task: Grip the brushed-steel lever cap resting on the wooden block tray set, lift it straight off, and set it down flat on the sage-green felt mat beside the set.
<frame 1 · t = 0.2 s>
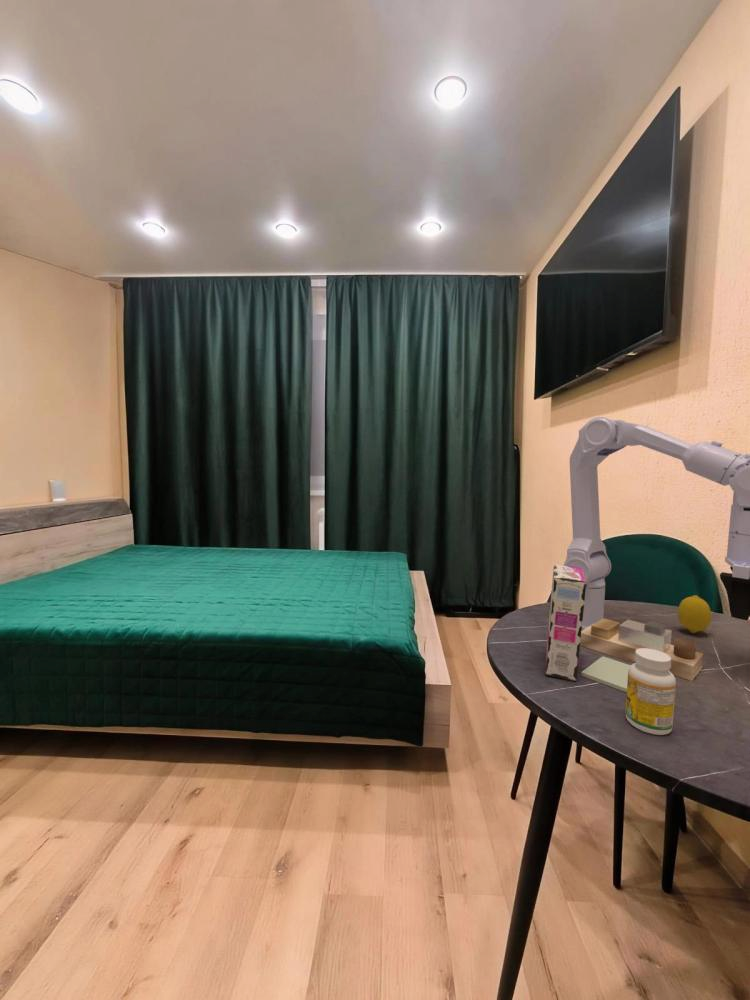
hand: (743, 613, 73), 10 cm above the table, tool pointing down, fingers open, 7 cm apart
wooden block tray set: (636, 655, 78), on the table
lemon: (692, 634, 89), on the table
candy bar box: (561, 665, 74), on the table
felt mat: (620, 677, 70), on the table
supplement bottle: (648, 725, 57), on the table
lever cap: (644, 644, 77), point 2 cm above the table, touching wooden block tray set
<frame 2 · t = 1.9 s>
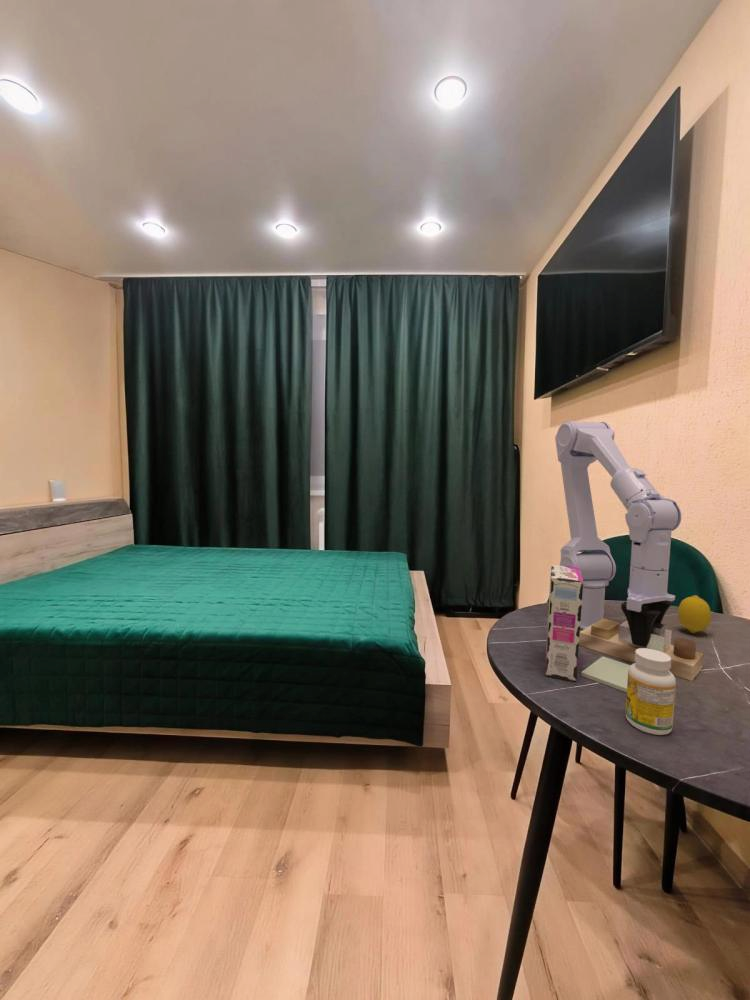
hand: (644, 641, 77), 3 cm above the table, tool pointing down, fingers closed on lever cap, 4 cm apart
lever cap: (644, 644, 77), point 2 cm above the table, touching gripper, wooden block tray set
everything else where it was.
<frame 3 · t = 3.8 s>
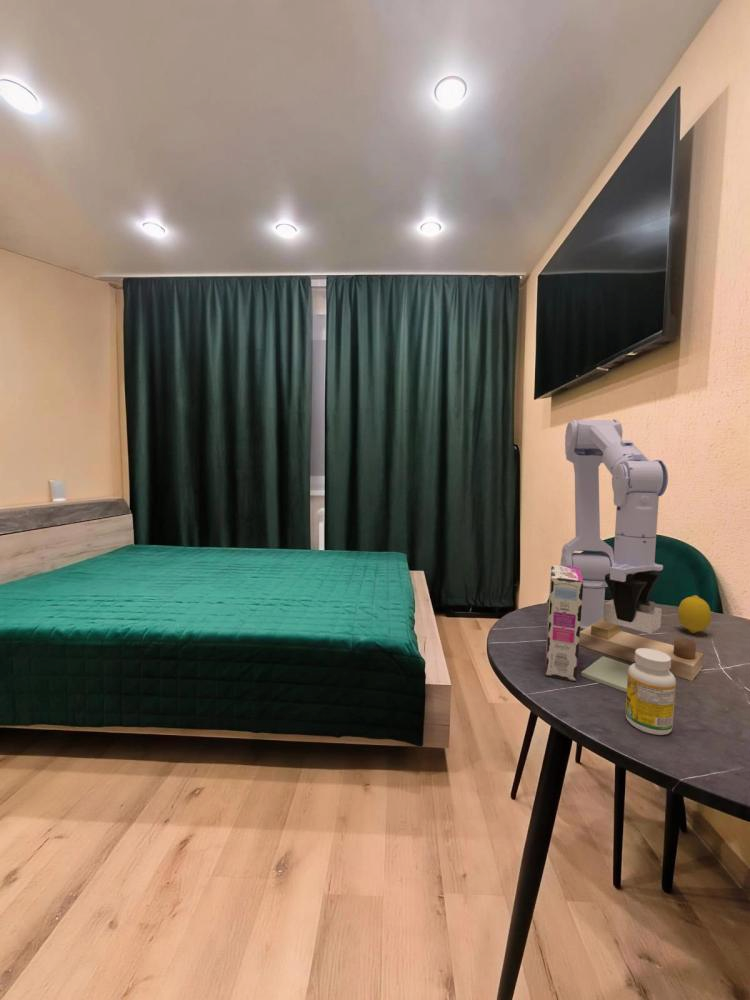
hand: (630, 616, 70), 10 cm above the table, tool pointing down, fingers closed on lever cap, 4 cm apart
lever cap: (631, 623, 70), point 9 cm above the table, touching gripper
everything else where it was.
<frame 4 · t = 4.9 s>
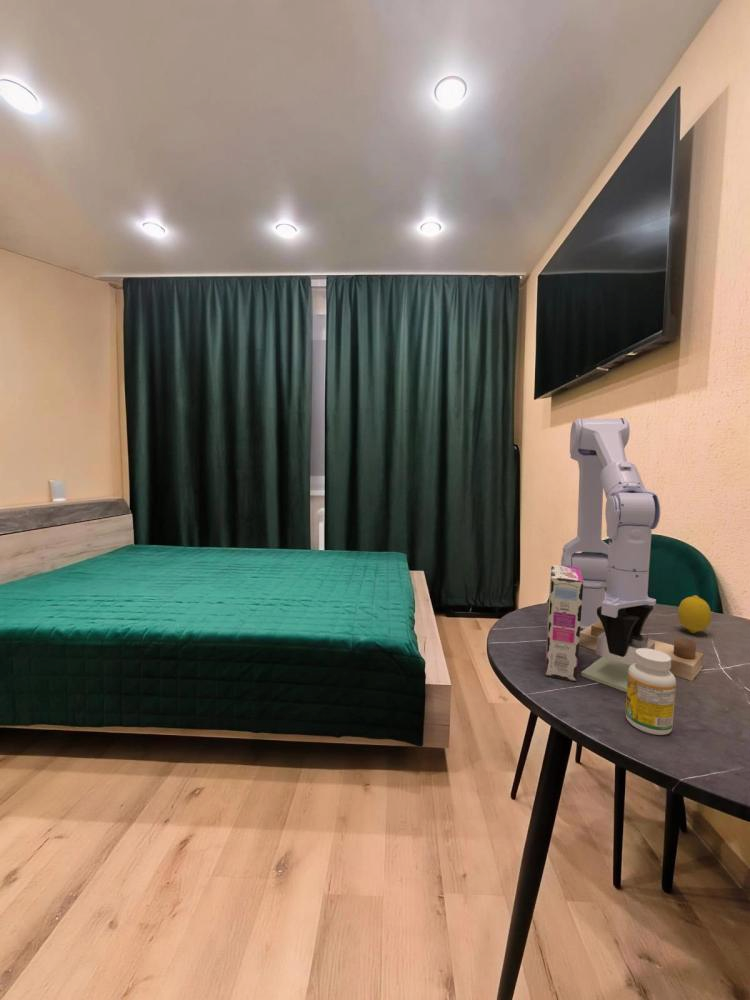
hand: (622, 649, 69), 5 cm above the table, tool pointing down, fingers closed on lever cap, 4 cm apart
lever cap: (624, 657, 69), point 3 cm above the table, touching gripper
everything else where it was.
when the fingers open (2 cm above the table, at t = 5.9 s): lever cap stays where it is, resting on felt mat.
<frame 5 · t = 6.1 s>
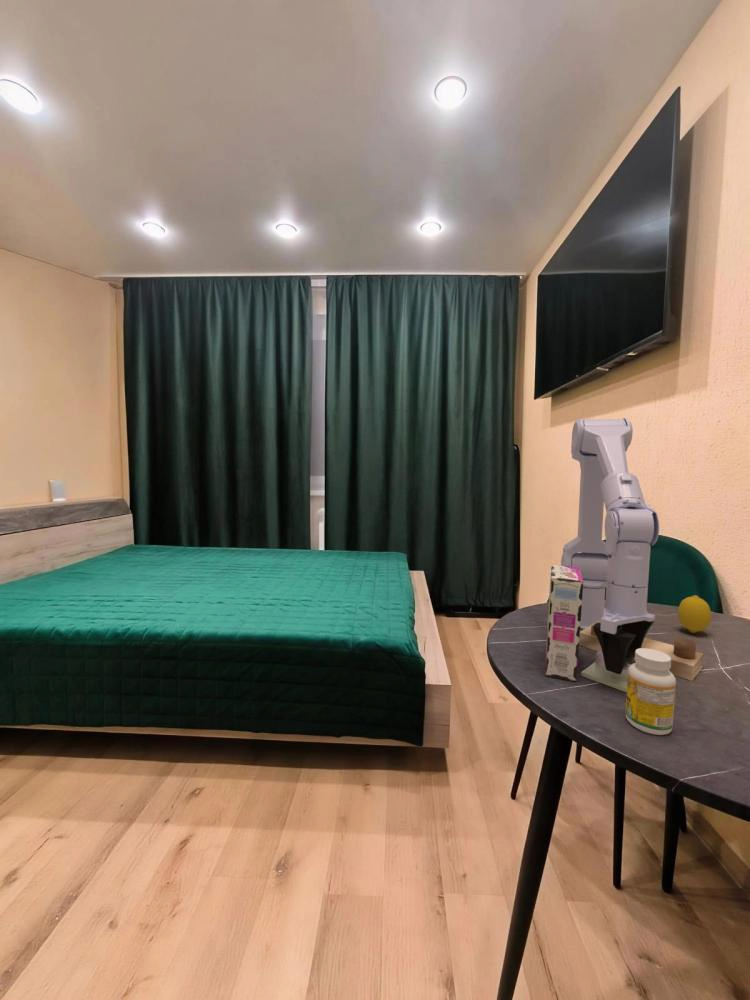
hand: (621, 664, 70), 2 cm above the table, tool pointing down, fingers open, 6 cm apart
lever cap: (623, 674, 70), point 1 cm above the table, touching felt mat
everything else where it was.
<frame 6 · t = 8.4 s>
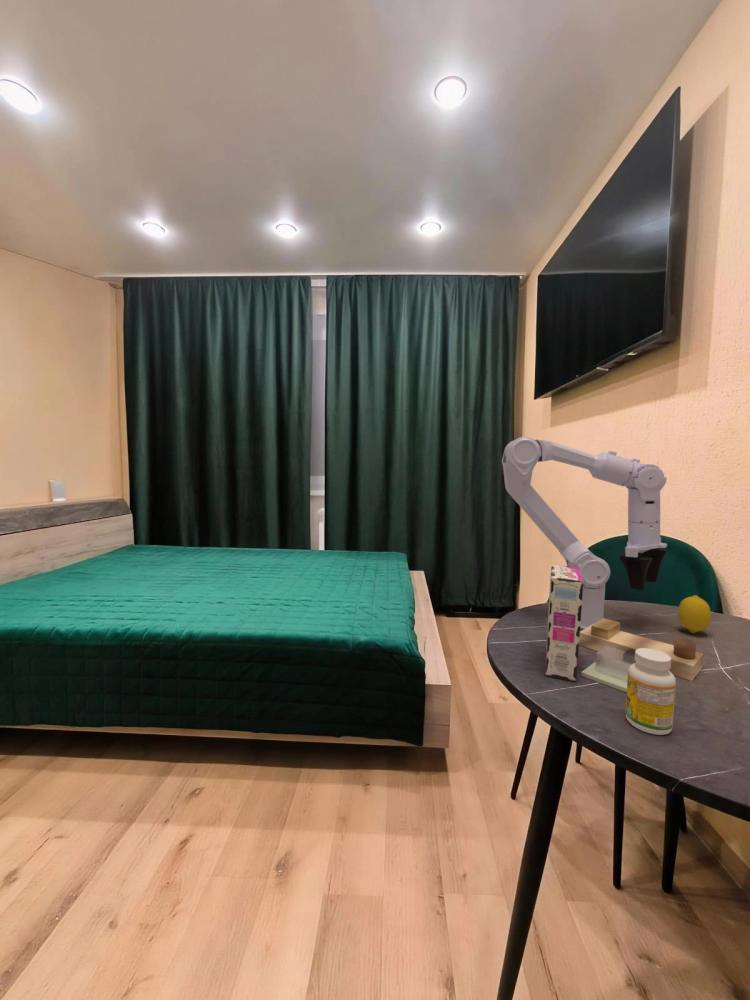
hand: (644, 585, 91), 9 cm above the table, tool pointing down, fingers open, 7 cm apart
nothing on the table moved.
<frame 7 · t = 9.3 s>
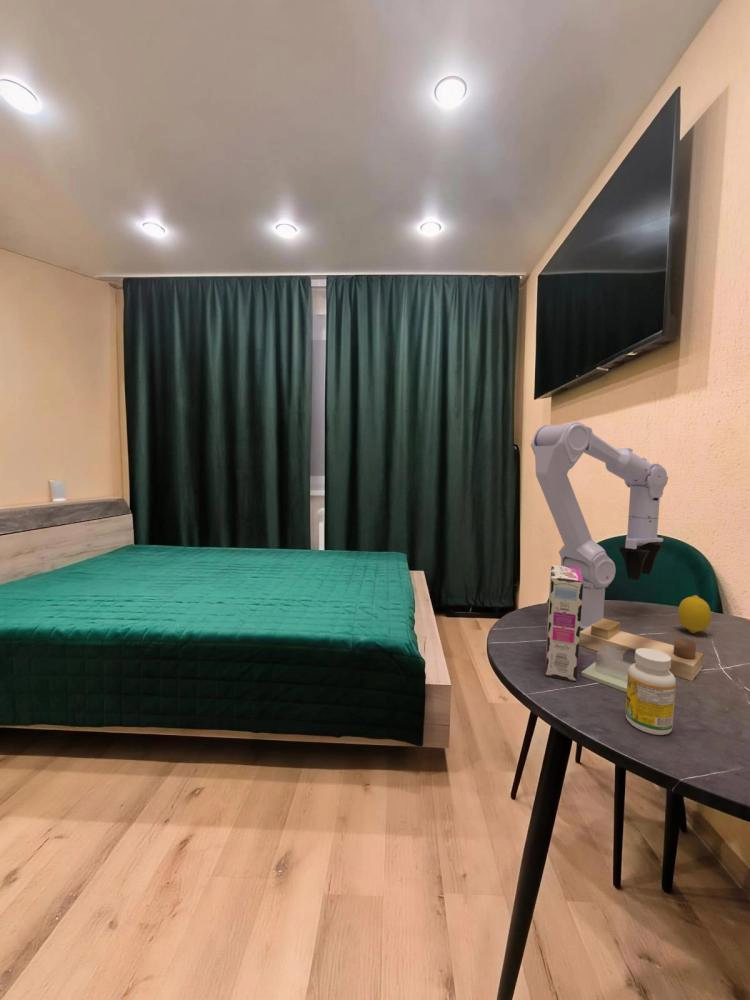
hand: (639, 576, 98), 9 cm above the table, tool pointing down, fingers open, 7 cm apart
nothing on the table moved.
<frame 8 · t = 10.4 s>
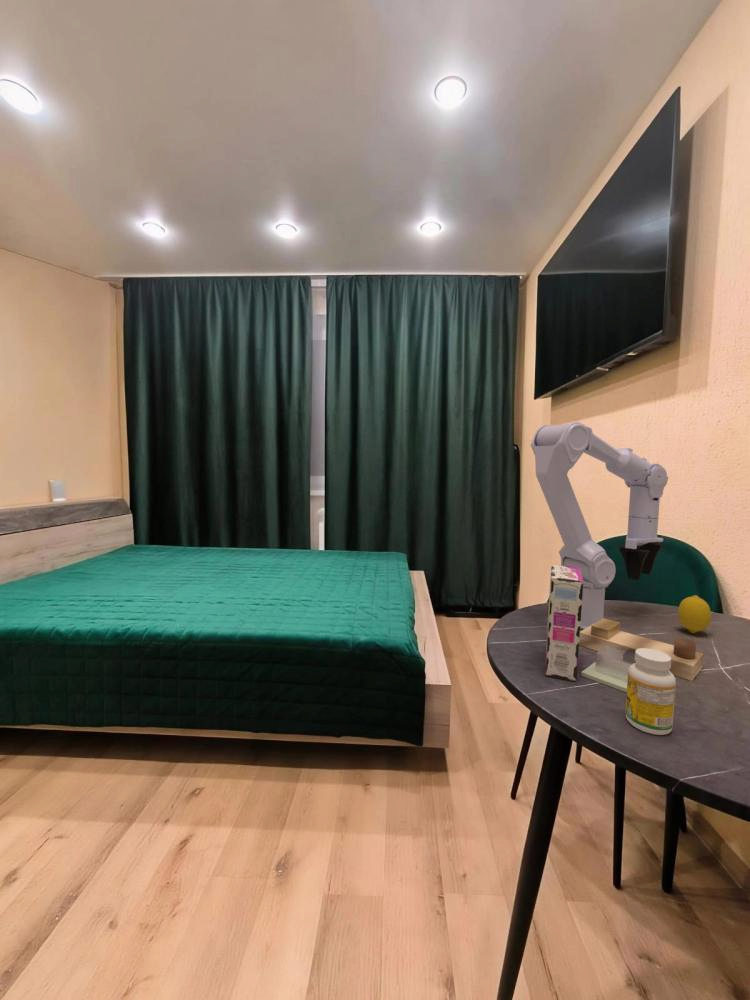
hand: (639, 576, 98), 9 cm above the table, tool pointing down, fingers open, 7 cm apart
nothing on the table moved.
at the end: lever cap 0.3 cm off-centre on the felt mat, point 0.6 cm above the felt mat's base; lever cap tilted 0°; the gripper is holding nothing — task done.
